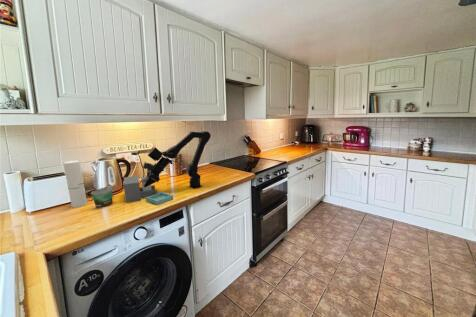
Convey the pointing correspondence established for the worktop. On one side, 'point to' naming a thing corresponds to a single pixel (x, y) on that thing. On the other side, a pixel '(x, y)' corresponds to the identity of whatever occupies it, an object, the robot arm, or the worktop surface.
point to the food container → (103, 196)
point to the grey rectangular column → (75, 183)
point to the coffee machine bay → (136, 190)
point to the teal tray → (159, 198)
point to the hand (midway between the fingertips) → (144, 185)
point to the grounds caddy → (144, 180)
